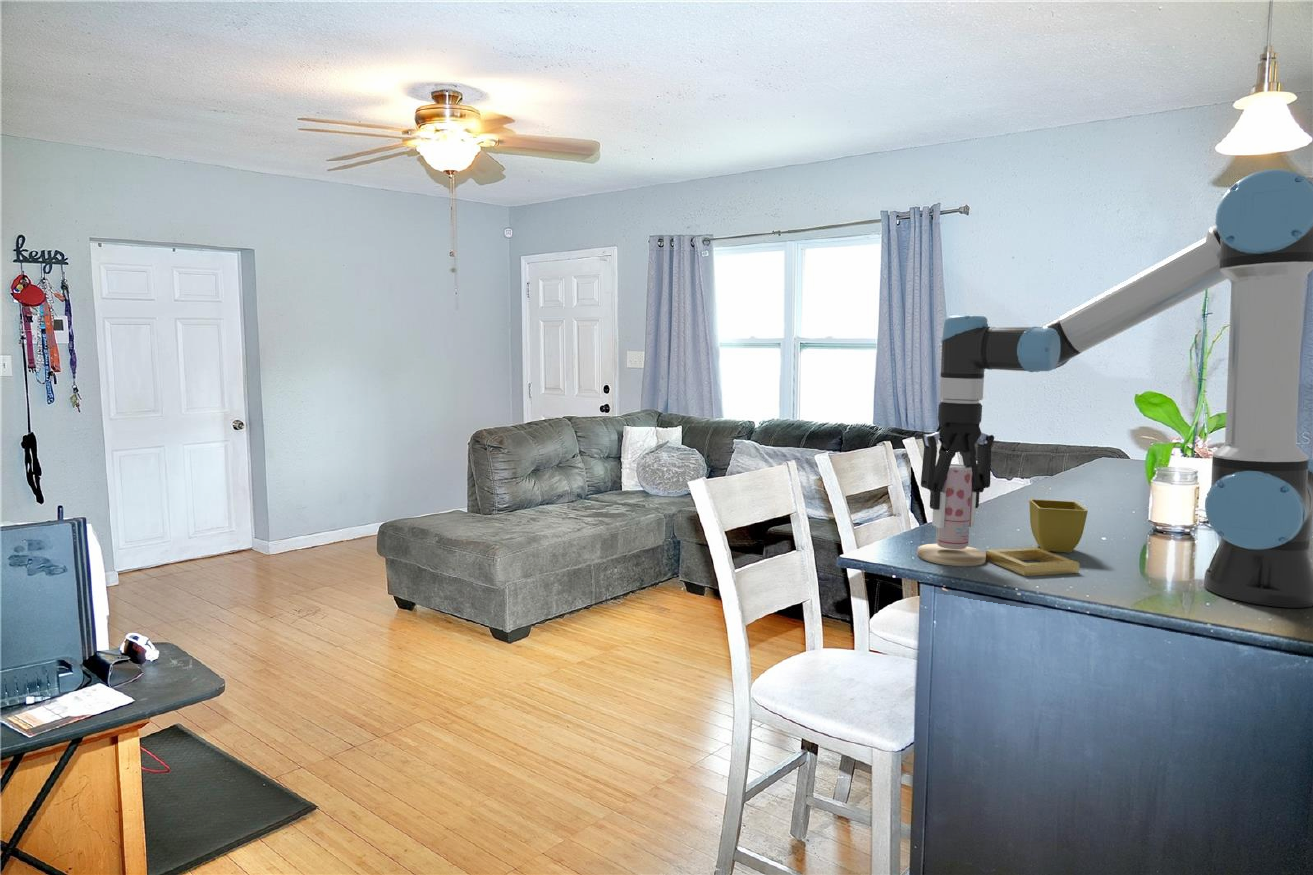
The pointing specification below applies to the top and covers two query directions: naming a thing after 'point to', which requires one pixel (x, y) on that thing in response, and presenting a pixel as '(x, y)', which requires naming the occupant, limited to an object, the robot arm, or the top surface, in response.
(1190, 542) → the top surface
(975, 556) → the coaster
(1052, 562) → the square wooden tray
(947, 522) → the pink strawberry drink can
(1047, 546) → the flower pot
